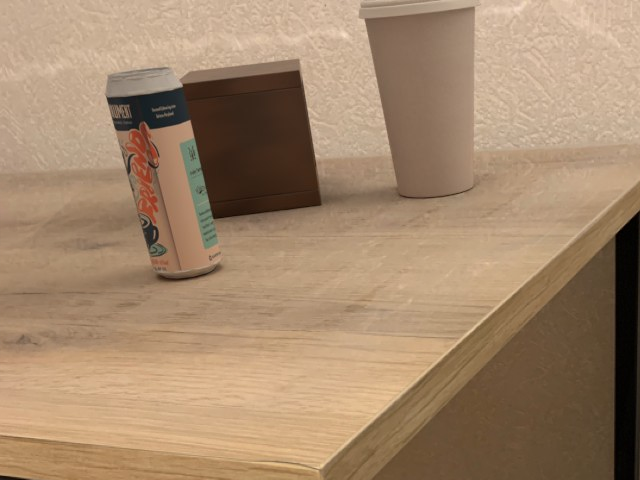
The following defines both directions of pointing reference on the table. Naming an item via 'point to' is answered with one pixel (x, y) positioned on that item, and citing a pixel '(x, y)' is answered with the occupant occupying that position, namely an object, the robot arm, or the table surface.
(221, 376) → the table surface
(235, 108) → the wooden lidded box
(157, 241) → the beer can
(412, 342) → the table surface
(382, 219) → the table surface
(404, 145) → the coffee cup
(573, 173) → the table surface
